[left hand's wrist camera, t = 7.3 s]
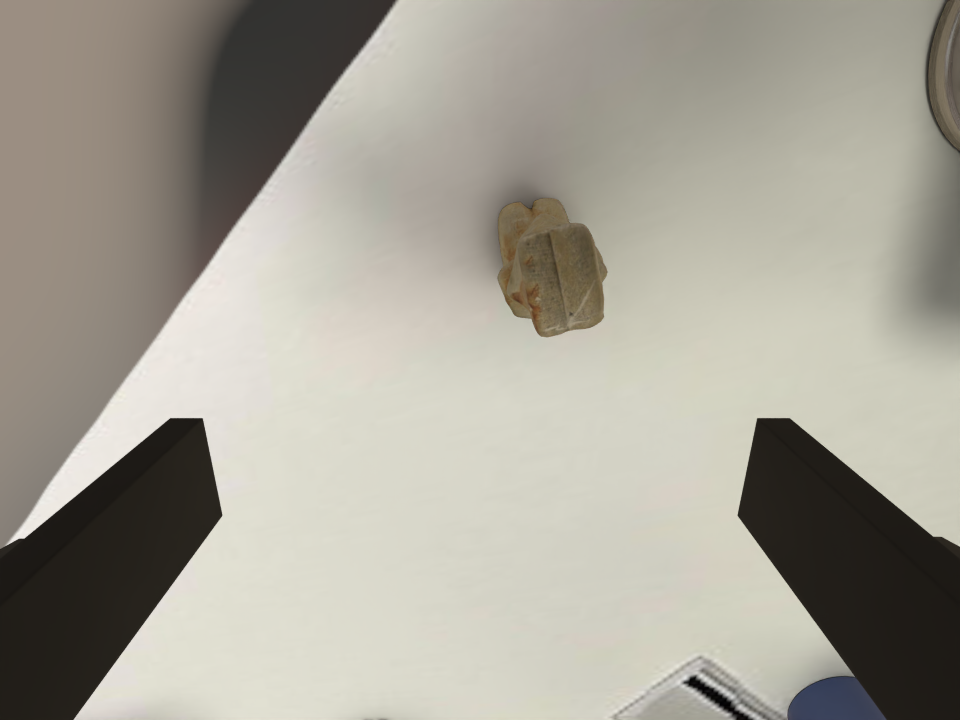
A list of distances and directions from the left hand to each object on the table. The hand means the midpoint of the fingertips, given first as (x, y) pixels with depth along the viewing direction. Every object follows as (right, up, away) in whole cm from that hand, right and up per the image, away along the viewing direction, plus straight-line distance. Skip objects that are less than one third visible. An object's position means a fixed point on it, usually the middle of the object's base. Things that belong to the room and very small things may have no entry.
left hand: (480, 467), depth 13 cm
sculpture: (+4, +10, +25) cm, 27 cm away
